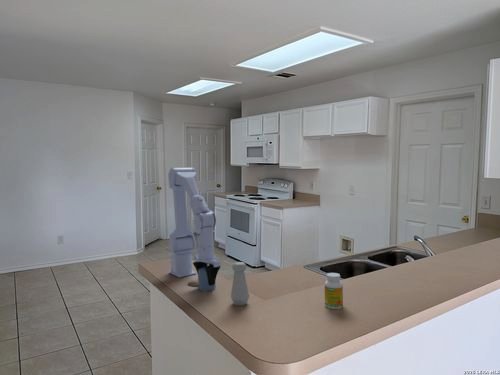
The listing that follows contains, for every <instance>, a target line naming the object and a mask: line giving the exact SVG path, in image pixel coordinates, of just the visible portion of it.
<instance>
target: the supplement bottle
mask: <svg viewBox="0 0 500 375" xmlns="http://www.w3.org/2000/svg"><path fill="white" fill-rule="evenodd" d="M343 285H344V284H343V281H341V275H340V273H337V272H327V274H326V280H325V282H324V306H325V307H326V308H327V309H332V310H339V309H342V308H343V307H344V301H343V300H344V293H343V292H344V286H343Z"/></svg>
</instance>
